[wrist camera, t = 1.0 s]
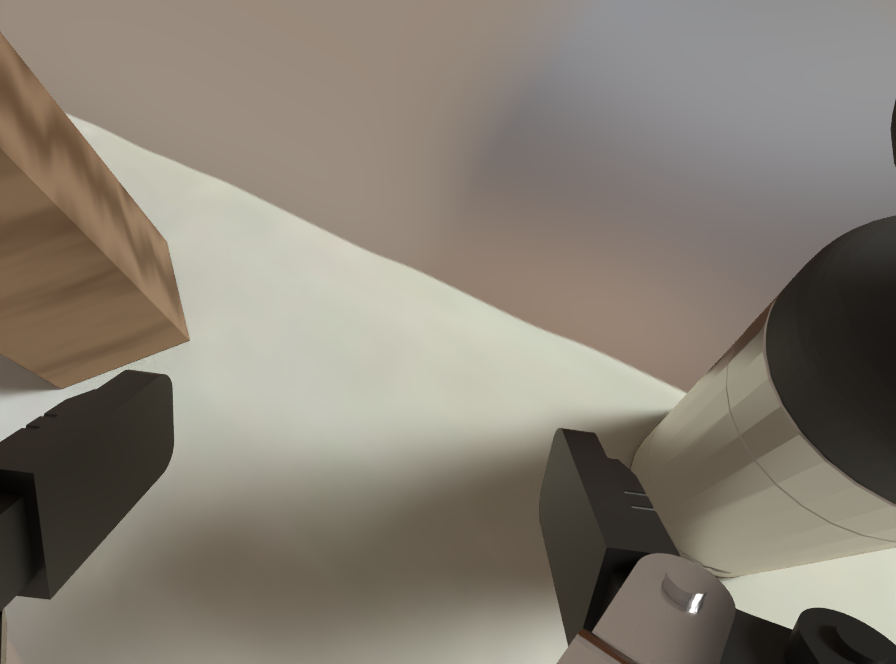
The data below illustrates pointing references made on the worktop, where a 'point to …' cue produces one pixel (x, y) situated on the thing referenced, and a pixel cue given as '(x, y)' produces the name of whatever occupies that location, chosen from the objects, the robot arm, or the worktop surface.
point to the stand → (73, 247)
